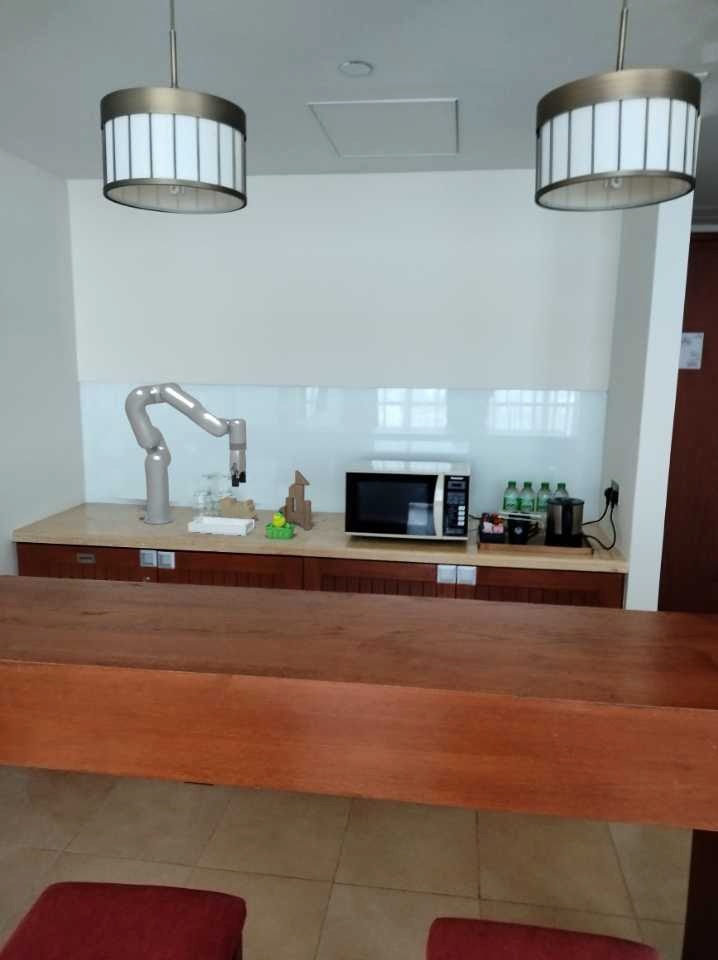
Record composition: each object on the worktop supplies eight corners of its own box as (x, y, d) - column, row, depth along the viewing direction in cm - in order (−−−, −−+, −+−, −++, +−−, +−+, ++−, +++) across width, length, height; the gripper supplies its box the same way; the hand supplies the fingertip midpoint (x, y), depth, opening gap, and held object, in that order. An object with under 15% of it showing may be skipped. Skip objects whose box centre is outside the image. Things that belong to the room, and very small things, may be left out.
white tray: (188, 532, 287) (188, 523, 287) (200, 525, 300) (200, 516, 299) (245, 536, 284) (245, 526, 283) (255, 528, 296) (255, 519, 296)
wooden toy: (276, 527, 299) (276, 471, 295) (282, 523, 306) (283, 468, 301) (309, 530, 295) (309, 473, 290) (315, 527, 301) (315, 471, 296)
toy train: (252, 524, 304) (252, 502, 302) (218, 520, 309) (218, 498, 308) (258, 521, 309) (258, 500, 307) (224, 518, 314) (224, 496, 313)
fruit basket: (296, 536, 285) (296, 509, 283) (289, 541, 277) (290, 514, 275) (270, 534, 287) (270, 508, 285) (263, 539, 279) (263, 512, 277)
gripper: (236, 444, 312) (237, 481, 315) (223, 449, 295) (224, 488, 298) (252, 444, 311) (253, 481, 314) (239, 449, 294) (240, 488, 297)
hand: (239, 484), depth 306 cm, fingers open, 9 cm apart
